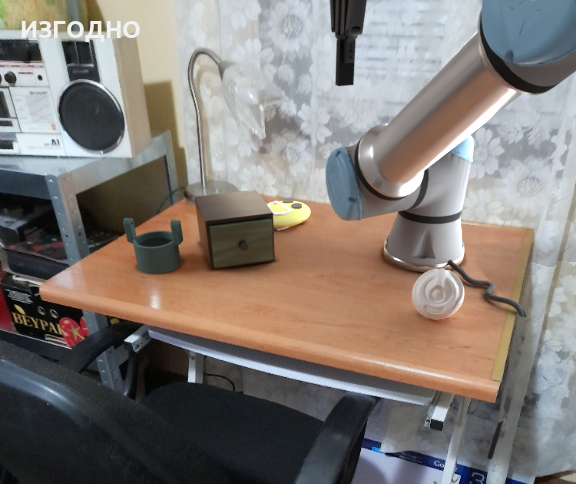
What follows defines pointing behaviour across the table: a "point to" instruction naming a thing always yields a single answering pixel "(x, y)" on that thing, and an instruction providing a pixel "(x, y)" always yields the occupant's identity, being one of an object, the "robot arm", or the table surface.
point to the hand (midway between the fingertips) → (344, 84)
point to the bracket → (156, 247)
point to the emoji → (288, 213)
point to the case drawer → (241, 242)
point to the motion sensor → (438, 294)
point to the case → (229, 216)
